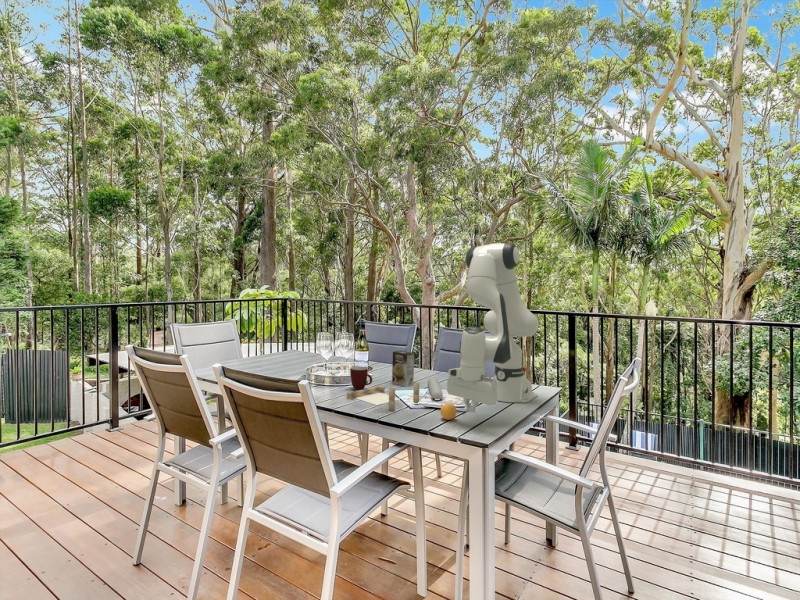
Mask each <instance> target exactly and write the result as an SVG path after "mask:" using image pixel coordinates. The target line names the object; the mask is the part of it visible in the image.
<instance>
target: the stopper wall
mask: <svg viewBox="0 0 800 600" xmlns="http://www.w3.org/2000/svg"><path fill="white" fill-rule="evenodd" d="M385 389H386V387H385V386H383V385H380V386H374V387H369V388H364V389H363V390H359V391H358V390H354V391H351V392H347V393H346V399H347V400H349V399H350V400H355V399H356V398H357V397H362V396H367V395H371V394H376V393H385V392H386V390H385ZM354 398H355V399H354Z"/></svg>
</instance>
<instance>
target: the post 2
mask: <svg viewBox="0 0 800 600" xmlns="http://www.w3.org/2000/svg"><path fill="white" fill-rule="evenodd" d="M412 393H413V394H412V397H413V399H412V403H413V402H414V403H418V402H419V403H420V382H418V381H415V382H414V381H413V392H412Z"/></svg>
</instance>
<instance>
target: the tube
mask: <svg viewBox="0 0 800 600" xmlns="http://www.w3.org/2000/svg"><path fill="white" fill-rule="evenodd" d="M427 386H428V390H429V392H430V395H431V396H432V397H431V396H430V397H431V399H432V398H434V399H441V400H443V399H444V397H443V396H444V392H443V391H442V388H441V386H440V382H439V379H438V378H436V377H429V379H428V380H427Z"/></svg>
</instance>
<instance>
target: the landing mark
mask: <svg viewBox="0 0 800 600" xmlns="http://www.w3.org/2000/svg"><path fill="white" fill-rule="evenodd" d="M400 399H401V398H399V397H396V396H395V402H397V401H400ZM355 400H359V401H362V402H366V403H368V404H370V405H374V406H379V405H385V404H389V394H386V393H384V392H382V393H376V394H371V395H367V396H362V397H357V398H355Z"/></svg>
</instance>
